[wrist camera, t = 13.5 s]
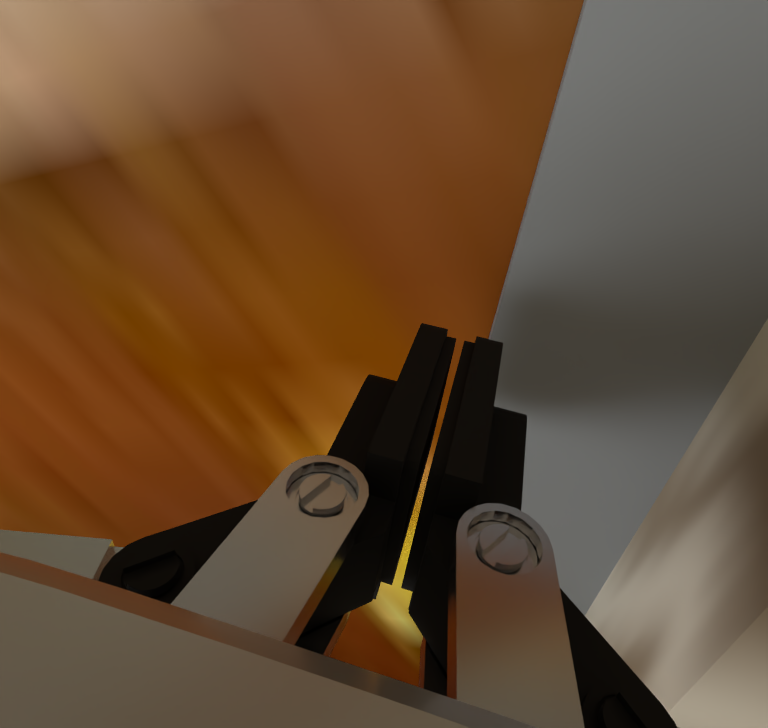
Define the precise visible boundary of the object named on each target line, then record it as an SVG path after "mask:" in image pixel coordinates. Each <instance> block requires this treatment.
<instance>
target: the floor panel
mask: <svg viewBox="0 0 768 728" xmlns="http://www.w3.org/2000/svg"><path fill="white" fill-rule="evenodd" d="M767 319H768V0H584V3H583V6H582V10H581V13H580V17H579V20H578V24H577V28H576V31H575V35H574V38H573V42H572V45H571V49H570V52H569V56H568V59H567V63H566V66H565V70H564V74H563V77H562V81H561V84H560V88H559V91H558V95H557V98H556V102H555V105H554V109H553V112H552V116H551V120H550V123H549V127H548V130H547V134H546V137H545V141H544V144H543V148H542V151H541V155H540V158H539V162H538V165H537V169H536V173H535V176H534V180H533V183H532V187H531V190H530V194H529V197H528V201H527V204H526V208H525V211H524V215H523V219H522V222H521V226H520V229H519V233H518V236H517V240H516V243H515V247H514V250H513V254H512V257H511V261H510V265H509V268H508V272H507V275H506V279H505V282H504V286H503V289H502V293H501V296H500V300H499V303H498V307H497V311H496V314H495V318H494V321H493V325H492V328H491V332H490V335H489V339H490V340H494V341H498V342H502V343H503V349H502V356H501V363H500V369H499V376H498V383H497V389H496V396H495V402H494V406H495V407H499V408H503V409H506V410H510V411H514V412H518V413H522V414H526V415H527V430H526V446H525V461H524V477H523V492H522V507H521V511H522V512H524V513H526V514H528V515H529V516H530V517H532V518H533V519H534V520H535V521H536V522H537V523H539V524H540V525H541V527H542V528H543V530H544V531H545V532H546V534H547V535H548V537H549V539H550V542H551V545H552V548H553V552H554V558H555V563H556V569H557V575H558V580H559V586H560V588H561V589H562V591H563V592H564V593H565V594H566V595H567V596H568V597H569V599H570V600H571V601H572V602H573V603H574V604H575V605H576V607H577V608H578V609H579V610H580V611H581V612H582V613H583V615H584V616H585V614H586V613H587V611H588V610H589V608H590V606H591V605H592V603H593V601H594V600H595V598H596V597H597V595H598V593H599V592H600V590H601V588H602V587H603V585H604V584H605V582H606V580H607V579H608V577H609V575H610V574H611V572H612V571H613V569H614V567H615V566H616V564H617V562H618V561H619V559H620V558H621V556H622V554H623V553H624V551H625V549H626V548H627V546H628V545H629V543H630V541H631V540H632V538H633V536H634V535H635V533H636V532H637V530H638V528H639V527H640V525H641V523H642V522H643V520H644V519H645V517H646V515H647V514H648V512H649V510H650V509H651V507H652V506H653V504H654V502H655V501H656V499H657V497H658V496H659V494H660V493H661V491H662V489H663V488H664V486H665V484H666V483H667V481H668V480H669V478H670V476H671V475H672V473H673V471H674V470H675V468H676V467H677V465H678V463H679V462H680V460H681V458H682V457H683V455H684V454H685V452H686V450H687V449H688V447H689V445H690V444H691V442H692V441H693V439H694V437H695V436H696V434H697V432H698V431H699V429H700V428H701V426H702V424H703V423H704V421H705V419H706V418H707V416H708V415H709V413H710V411H711V410H712V408H713V406H714V405H715V403H716V402H717V400H718V398H719V397H720V395H721V394H722V392H723V390H724V389H725V387H726V385H727V384H728V382H729V381H730V379H731V377H732V376H733V374H734V372H735V371H736V369H737V368H738V366H739V364H740V363H741V361H742V359H743V358H744V356H745V355H746V353H747V351H748V350H749V348H750V346H751V345H752V343H753V342H754V340H755V338H756V337H757V335H758V333H759V332H760V330H761V329H762V327H763V325H764V324H765V322H766V320H767Z"/></svg>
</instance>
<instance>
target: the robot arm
mask: <svg viewBox="0 0 768 728" xmlns="http://www.w3.org/2000/svg"><path fill="white" fill-rule="evenodd" d="M447 331H448V329H444V328H440V327H436V326H432V325H427V324H423V323H421V325H420V328H419V330H418V333H417V335H416V337H415V340H414V342H413V344H412V347H411V349H410V352H409V354H408V356H407V359H406V361H405V363H404V366H403V368H402V371H401V373H400V375H399V378H398V380H397V381H394V380H390V379H386V378H382V377H378V376H374V375H368V376H367V378H366V380H365V381H364V383H363V385H362V387H361V389H360V391H359V393H358V395H357V397H356V399H355V401H354V403H353V405H352V407H351V409H350V411H349V413H348V415H347V417H346V419H345V421H344V423H343V425H342V427H341V429H340V431H339V433H338V435H337V437H336V439H335V441H334V443H333V445H332V447H331V449H330V451H329V453H328V455H327V456H325V455H315V456H310V457H304V458H302V459H300V460H297V461H295V462H293V463H291V464H290V465H289V466H288V467H287V468H285V469H284V470H283V471H282V472H281V473H280V475H279V476H278V477H277V478H276V479H275V481H274V482H273V483H272V484H271V485H270V487H269V488H268V489H267V490H266V491H265V492H264V494H263V495H262V496H261V497H260V498H259V500H256V501H253V502H250V503H247V504H244V505H241V506H238V507H235V508H232V509H229V510H226V511H223V512H220V513H217V514H214V515H211V516H208V517H205V518H202V519H199V520H196V521H193V522H190V523H187V524H184V525H181V526H178V527H175V528H172V529H169V530H166V531H162V532H159V533H156V534H153V535H150V536H147V537H144V538H142V539H140V540H137V541H135V542H133V543H131V544H129V545H127V546H125V547H114V545H113V541H112V540H110V539H99V538H87V537H76V536H65V535H53V534H42V533H30V532H19V531H8V530H0V728H679V727H677V726H676V724H675V722H674V720H673V719H672V718H671V716H670V715H669V713H668V712H667V711H666V709H665V708H664V706H663V705H662V704H661V703H660V701H659V700H658V699H657V698H656V697H655V696H654V695H653V693H652V692H651V691H650V690H649V689H648V688H647V687H646V685H645V684H644V683H643V682H642V681H641V680H640V679H639V677H638V676H637V675H636V674H635V673H634V672H633V671H632V669H631V668H630V667H629V666H628V665H627V664H626V663H625V661H624V660H623V659H622V658H621V657H620V656H619V655H618V653H617V652H616V651H615V650H614V649H613V648H612V647H611V645H610V644H609V643H608V642H607V641H606V640H605V639H604V637H603V636H602V635H601V634H600V633H599V632H598V631H597V629H596V628H595V627H594V626H593V625H592V624H591V623H590V621H589V620H588V619H587V618H586V617H585V616H584V615H583V613H582V612H581V611H580V610H579V609H578V608H577V607H576V605H575V604H574V603H573V602H572V601H571V600H570V599H569V597H568V596H567V595H566V594H565V593H564V592H563V591H562V589H561V588H560V586H559V580H558V575H557V569H556V563H555V558H554V552H553V548H552V545H551V542H550V539H549V537H548V535H547V534H546V532H545V531H544V530H543V528H542V527H541V525H540V524H539V523H537V522H536V521H535V520H534V519H533V518H532V517H530V516H529V515H528V514H526V513H524V512H522V511H521V507H522V492H523V477H524V461H525V446H526V430H527V415H526V414H522V413H518V412H514V411H510V410H506V409H503V408H499V407H495V406H494V402H495V396H496V389H497V383H498V376H499V369H500V363H501V356H502V349H503V343H502V342H498V341H494V340H490V339H486V338H481V337H476V341H475V343H472V342H468V341H464V345H463V349H462V352H461V356H460V360H459V364H458V367H457V371H456V375H455V378H454V382H453V386H452V390H451V393H450V397H449V401H448V405H447V408H446V412H445V416H444V419H443V423H442V427H441V431H440V434H439V438H438V442H437V446H436V449H435V453H434V457H433V461H432V464H431V468H430V472H429V476H428V480H427V484H426V488H425V492H424V497H423V501H422V505H421V509H420V513H419V517H418V521H417V525H416V529H415V534H414V538H413V542H412V546H411V550H410V554H409V558H408V562H407V566H406V570H405V575H404V579H403V583H402V587H401V588H403V589H407V590H410V591H413V593H412V597H411V601H410V605H409V609H408V610H409V614H410V616H411V617H412V619H413V621H414V622H415V624H416V625H417V627H418V629H419V630H420V632H421V633H422V635H423V639H422V644H421V651H420V671H419V687H417V686H414V685H411V684H408V683H405V682H402V681H399V680H396V679H393V678H390V677H387V676H384V675H381V674H378V673H375V672H372V671H369V670H366V669H363V668H360V667H357V666H354V665H351V664H348V663H345V662H342V661H339V660H336V659H333V658H330V657H329V656H330V654H331V652H332V650H333V648H334V646H335V644H336V643H337V641H338V639H339V637H340V635H341V633H342V631H343V629H344V627H345V625H346V623H347V620H348V617H349V614H350V611H352V610H354V609H356V608H358V607H360V606H362V605H365V604H367V603H369V602H371V601H372V600H373V599H376V596H377V593H378V590H379V586H380V583H381V582H384V583H387V584H391V585H392V583H393V579H394V576H395V572H396V569H397V565H398V562H399V558H400V555H401V551H402V547H403V544H404V540H405V537H406V533H407V530H408V526H409V523H410V519H411V515H412V512H413V508H414V505H415V501H416V498H417V494H418V490H419V487H420V483H421V480H422V476H423V473H424V469H425V465H426V462H427V458H428V455H429V451H430V447H431V443H432V439H433V435H434V431H435V427H436V423H437V418H438V414H439V410H440V406H441V402H442V397H443V393H444V389H445V385H446V380H447V376H448V372H449V368H450V364H451V359H452V355H453V351H454V347H455V342H456V339H455V338H451V337H447Z"/></svg>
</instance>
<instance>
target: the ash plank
mask: <svg viewBox="0 0 768 728" xmlns="http://www.w3.org/2000/svg"><path fill="white" fill-rule="evenodd" d="M585 617H586V618H587V619H588V620H589V621H590V623H591V624H592V625H593V626H594V627H595V628H596V629H597V631H598V632H599V633H600V634H601V635H602V636H603V637H604V639H605V640H606V641H607V642H608V643H609V644H610V645H611V647H612V648H613V649H614V650H615V651H616V652H617V653H618V655H619V656H620V657H621V658H622V659H623V660H624V661H625V663H626V664H627V665H628V666H629V667H630V668H631V669H632V671H633V672H634V673H635V674H636V675H637V676H638V677H639V679H640V680H641V681H642V682H643V683H644V684H645V685H646V687H647V688H648V689H649V690H650V691H651V692H652V693H653V695H654V696H655V697H656V698H657V699H658V700H659V701H660V703H661V704H662V705H663V706H664V708H665V709H666V711H667V712H668V713H669V715H670V716H671V718H672V719H673V720H674V722H675V724H676V726H677V727H679V728H768V319H767V320H766V322H765V324H764V325H763V327H762V329H761V330H760V332H759V333H758V335H757V337H756V338H755V340H754V342H753V343H752V345H751V346H750V348H749V350H748V351H747V353H746V355H745V356H744V358H743V359H742V361H741V363H740V364H739V366H738V368H737V369H736V371H735V372H734V374H733V376H732V377H731V379H730V381H729V382H728V384H727V385H726V387H725V389H724V390H723V392H722V394H721V395H720V397H719V398H718V400H717V402H716V403H715V405H714V406H713V408H712V410H711V411H710V413H709V415H708V416H707V418H706V419H705V421H704V423H703V424H702V426H701V428H700V429H699V431H698V432H697V434H696V436H695V437H694V439H693V441H692V442H691V444H690V445H689V447H688V449H687V450H686V452H685V454H684V455H683V457H682V458H681V460H680V462H679V463H678V465H677V467H676V468H675V470H674V471H673V473H672V475H671V476H670V478H669V480H668V481H667V483H666V484H665V486H664V488H663V489H662V491H661V493H660V494H659V496H658V497H657V499H656V501H655V502H654V504H653V506H652V507H651V509H650V510H649V512H648V514H647V515H646V517H645V519H644V520H643V522H642V523H641V525H640V527H639V528H638V530H637V532H636V533H635V535H634V536H633V538H632V540H631V541H630V543H629V545H628V546H627V548H626V549H625V551H624V553H623V554H622V556H621V558H620V559H619V561H618V562H617V564H616V566H615V567H614V569H613V571H612V572H611V574H610V575H609V577H608V579H607V580H606V582H605V584H604V585H603V587H602V588H601V590H600V592H599V593H598V595H597V597H596V598H595V600H594V601H593V603H592V605H591V606H590V608H589V610H588V611H587V613H586V614H585Z"/></svg>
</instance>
